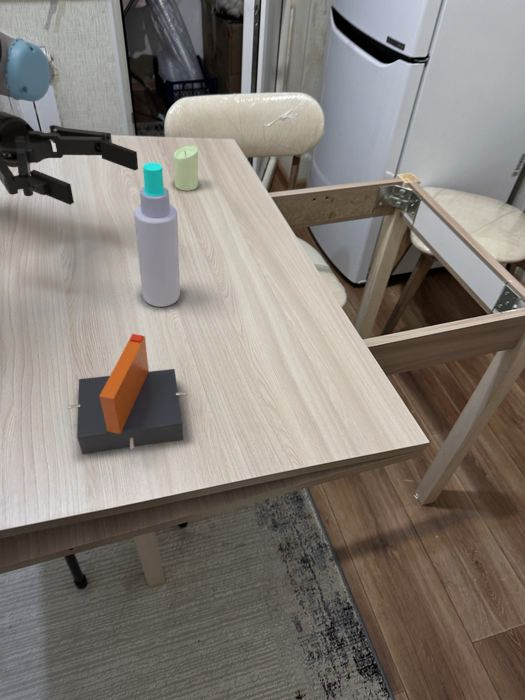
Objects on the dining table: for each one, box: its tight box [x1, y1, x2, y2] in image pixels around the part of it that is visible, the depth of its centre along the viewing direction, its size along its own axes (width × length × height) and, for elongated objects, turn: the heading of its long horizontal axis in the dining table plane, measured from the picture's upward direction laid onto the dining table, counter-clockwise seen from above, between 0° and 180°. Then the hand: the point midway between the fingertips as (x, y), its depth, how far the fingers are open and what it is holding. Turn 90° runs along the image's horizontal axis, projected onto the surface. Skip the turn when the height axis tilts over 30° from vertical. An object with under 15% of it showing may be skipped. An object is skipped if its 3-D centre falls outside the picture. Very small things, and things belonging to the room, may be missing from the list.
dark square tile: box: [67, 368, 188, 455], centre depth 61 cm, size 14×14×4 cm
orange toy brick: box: [99, 333, 150, 434], centre depth 57 cm, size 10×2×7 cm, turn 171°
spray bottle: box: [133, 162, 181, 307], centre depth 72 cm, size 6×6×22 cm
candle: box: [173, 145, 199, 192], centre depth 104 cm, size 5×5×8 cm
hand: (105, 176), depth 69 cm, fingers open, 13 cm apart
